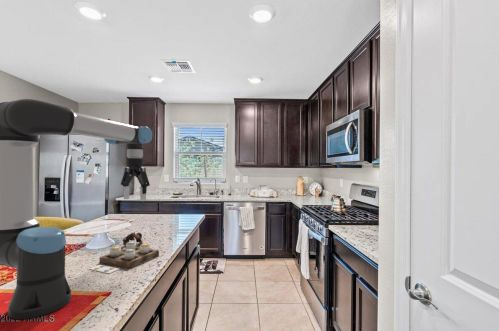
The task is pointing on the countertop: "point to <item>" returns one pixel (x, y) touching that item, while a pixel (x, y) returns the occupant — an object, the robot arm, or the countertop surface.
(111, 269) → the pattern card
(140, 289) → the countertop surface
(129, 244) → the button outer left
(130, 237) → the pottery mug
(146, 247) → the button outer right
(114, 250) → the button inner left
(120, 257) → the button board
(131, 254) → the button inner right
